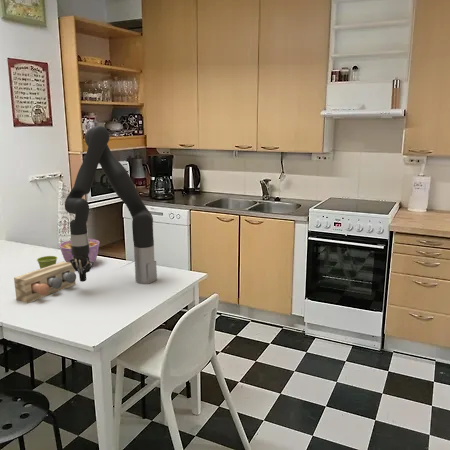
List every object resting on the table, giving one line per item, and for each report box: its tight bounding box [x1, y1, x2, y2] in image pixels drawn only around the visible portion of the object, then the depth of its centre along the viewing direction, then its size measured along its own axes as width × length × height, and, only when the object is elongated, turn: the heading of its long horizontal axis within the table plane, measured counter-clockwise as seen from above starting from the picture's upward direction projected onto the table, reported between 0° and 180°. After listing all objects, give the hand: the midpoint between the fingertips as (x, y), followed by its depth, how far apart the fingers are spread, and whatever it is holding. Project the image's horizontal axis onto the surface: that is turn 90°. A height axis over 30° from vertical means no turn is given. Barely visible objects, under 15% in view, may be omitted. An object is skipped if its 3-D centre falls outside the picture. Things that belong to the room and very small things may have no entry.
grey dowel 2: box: [62, 272, 77, 283], centre depth 210 cm, size 11×5×5 cm, turn 60°
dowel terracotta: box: [31, 283, 49, 295], centre depth 196 cm, size 11×5×5 cm, turn 60°
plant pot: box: [36, 255, 58, 269], centre depth 226 cm, size 9×9×9 cm
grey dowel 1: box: [47, 277, 62, 289], centre depth 203 cm, size 11×5×5 cm, turn 60°
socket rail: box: [13, 260, 76, 304], centre depth 204 cm, size 7×26×10 cm, turn 150°
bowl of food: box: [59, 238, 100, 263], centre depth 241 cm, size 20×20×12 cm
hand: (83, 281), depth 204 cm, fingers closed
